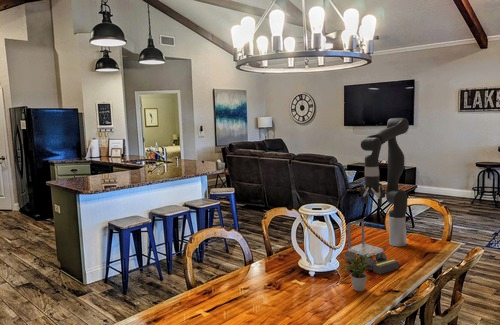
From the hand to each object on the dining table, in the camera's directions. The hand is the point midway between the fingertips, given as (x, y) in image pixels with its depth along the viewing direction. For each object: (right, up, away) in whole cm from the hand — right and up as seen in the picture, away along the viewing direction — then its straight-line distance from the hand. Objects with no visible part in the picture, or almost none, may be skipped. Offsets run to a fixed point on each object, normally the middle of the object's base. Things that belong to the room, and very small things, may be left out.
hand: (372, 204), depth 208 cm
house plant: (-17, -34, -33) cm, 51 cm away
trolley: (-5, -31, -5) cm, 31 cm away
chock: (+2, -32, -15) cm, 35 cm away
